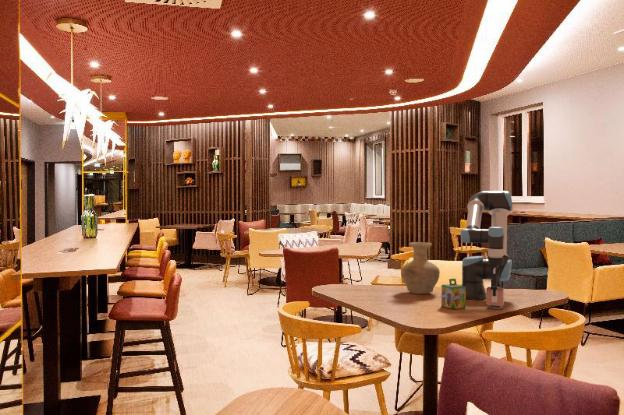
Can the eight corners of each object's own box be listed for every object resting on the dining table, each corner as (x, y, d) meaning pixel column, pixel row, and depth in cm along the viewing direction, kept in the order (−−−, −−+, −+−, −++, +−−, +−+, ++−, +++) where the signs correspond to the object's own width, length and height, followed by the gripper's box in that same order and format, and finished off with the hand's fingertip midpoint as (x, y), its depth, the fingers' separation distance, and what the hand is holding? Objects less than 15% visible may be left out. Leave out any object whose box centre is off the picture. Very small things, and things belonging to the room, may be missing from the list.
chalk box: (453, 309, 270) (453, 281, 269) (440, 306, 278) (440, 278, 277) (466, 308, 274) (466, 279, 274) (453, 304, 282) (454, 277, 282)
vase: (397, 295, 309) (397, 244, 308) (404, 289, 330) (405, 241, 329) (436, 298, 301) (437, 245, 300) (441, 291, 322) (442, 242, 321)
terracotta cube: (488, 301, 279) (488, 286, 279) (504, 303, 276) (504, 287, 276) (486, 304, 272) (486, 289, 272) (502, 306, 269) (502, 290, 269)
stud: (487, 308, 272) (487, 294, 272) (488, 306, 279) (489, 292, 278) (501, 310, 269) (501, 295, 269) (503, 307, 276) (503, 293, 276)
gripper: (501, 259, 262) (501, 305, 263) (505, 254, 281) (504, 297, 282) (485, 258, 266) (485, 303, 266) (490, 254, 284) (490, 296, 285)
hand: (495, 300), depth 274 cm, fingers closed on terracotta cube, 8 cm apart
